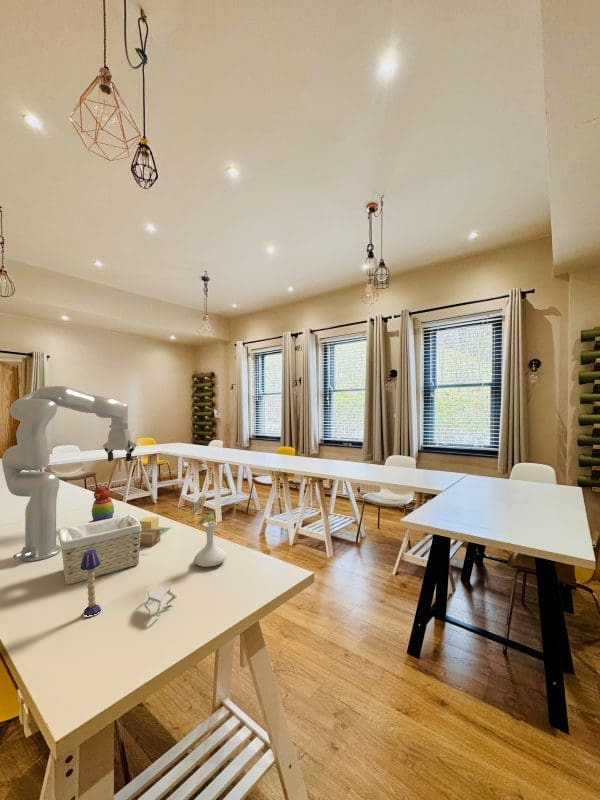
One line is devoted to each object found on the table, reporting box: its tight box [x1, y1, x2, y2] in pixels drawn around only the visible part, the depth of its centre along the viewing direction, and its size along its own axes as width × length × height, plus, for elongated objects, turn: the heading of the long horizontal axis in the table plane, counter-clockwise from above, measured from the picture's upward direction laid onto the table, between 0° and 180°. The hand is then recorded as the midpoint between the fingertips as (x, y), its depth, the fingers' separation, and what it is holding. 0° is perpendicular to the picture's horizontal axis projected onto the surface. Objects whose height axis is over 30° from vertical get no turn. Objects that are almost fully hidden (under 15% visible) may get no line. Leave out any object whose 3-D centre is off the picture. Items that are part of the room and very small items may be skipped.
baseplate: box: [159, 526, 172, 537], centre depth 149 cm, size 14×14×1 cm
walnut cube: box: [140, 529, 161, 548], centre depth 137 cm, size 6×6×6 cm
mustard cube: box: [138, 516, 160, 532], centre depth 149 cm, size 6×6×6 cm
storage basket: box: [58, 514, 142, 585], centre depth 119 cm, size 24×16×15 cm
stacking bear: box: [87, 486, 115, 523], centre depth 164 cm, size 11×10×18 cm
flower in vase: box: [190, 494, 227, 568], centre depth 121 cm, size 13×11×25 cm
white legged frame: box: [144, 585, 178, 618], centre depth 94 cm, size 12×8×5 cm
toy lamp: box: [80, 550, 102, 616], centre depth 92 cm, size 5×5×17 cm
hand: (119, 460), depth 172 cm, fingers open, 9 cm apart
